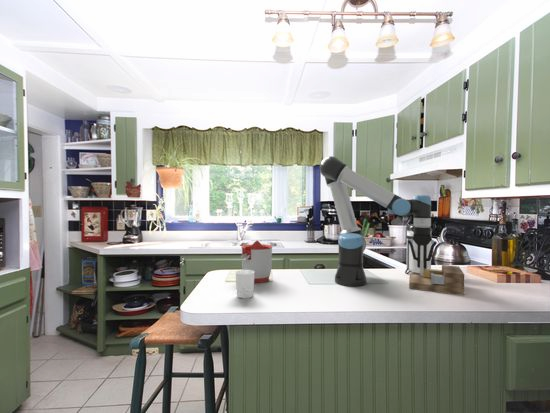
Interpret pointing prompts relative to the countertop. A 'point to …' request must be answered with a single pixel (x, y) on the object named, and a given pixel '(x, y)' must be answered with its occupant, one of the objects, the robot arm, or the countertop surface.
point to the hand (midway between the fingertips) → (421, 274)
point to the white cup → (245, 283)
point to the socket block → (452, 284)
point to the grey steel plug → (437, 279)
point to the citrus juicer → (257, 260)
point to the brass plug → (428, 272)
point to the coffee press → (410, 261)
